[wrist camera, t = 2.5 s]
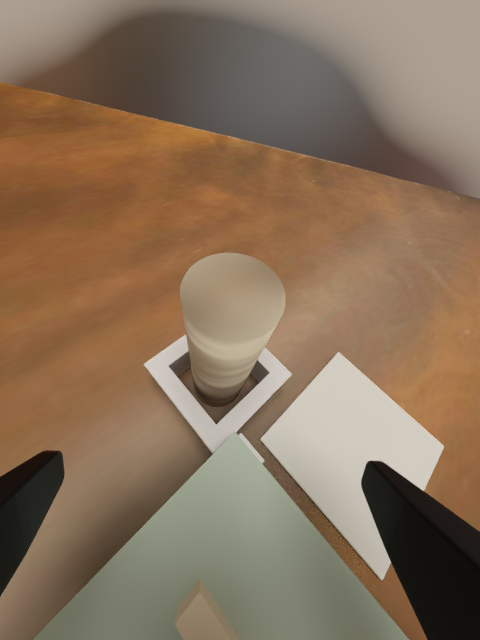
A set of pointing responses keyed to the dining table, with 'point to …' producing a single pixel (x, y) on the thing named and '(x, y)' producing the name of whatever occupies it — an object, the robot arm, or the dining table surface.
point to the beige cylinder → (228, 321)
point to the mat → (349, 450)
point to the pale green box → (224, 549)
